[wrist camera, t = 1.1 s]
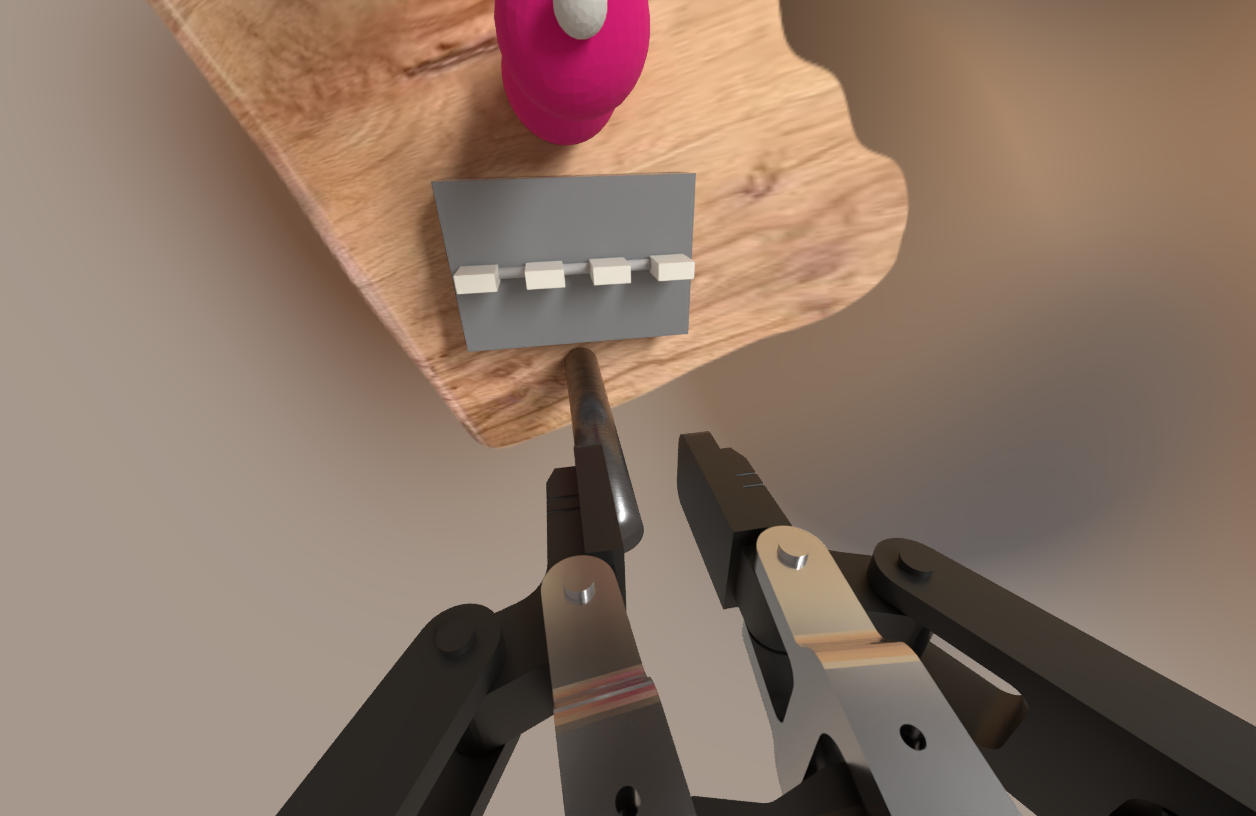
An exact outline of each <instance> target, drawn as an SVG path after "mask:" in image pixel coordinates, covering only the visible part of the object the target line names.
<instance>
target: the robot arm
mask: <svg viewBox="0 0 1256 816" xmlns="http://www.w3.org/2000/svg"><path fill="white" fill-rule="evenodd" d="M678 445H679V446H678V469H677V489H678V495H679V500H680V503H681V505H682V508H683V511H684V513H685V516H686V518H687V521H688V523H689V525H690V528H691V531H692V533H693V536H694V538H695V540H696V543H697V545H698V548H699V550H700V553H701V555H702V558H703V560H704V563H705V565H706V568H707V570H708V572H709V575H710V578H711V580H712V583H713V585H714V587H715V590H716V592H717V595H718V597H719V600H720V602H721V605H722V607H723V609H727V608H733V607H739V609H740V611H741V614H742V616H743V618H744V621H743V627H742V636H743V640H744V643H745V647H746V650H747V653H748V656H749V659H750V662H751V666H752V669H753V672H754V675H755V678H756V681H757V684H758V688H759V691H760V694H761V697H762V701H763V704H764V707H765V710H766V713H767V716H768V719H769V723H770V726H771V730H772V734H773V739H774V753H775V763H776V769H777V774H778V779H779V783H780V787H781V790H782V794H783V796H781V797H780V798H778V799H777V800H775V801H773V802H770V803H756V802H746V801H736V800H727V799H717V798H708V797H699V796H692V797H691V796H690V792H689V789H688V786H687V783H686V780H685V777H684V773H683V770H682V767H681V764H680V761H679V758H678V755H677V752H676V748H675V745H674V742H673V739H672V736H671V732H670V729H669V726H668V723H667V720H666V716H665V713H664V710H663V707H662V704H661V701H660V698H659V695H658V692H657V689H656V687H655V684H654V682H653V680H652V679H651V678H650V677H647V676H646V674H645V671H644V668H643V665H642V662H641V659H640V656H639V652H638V649H637V646H636V642H635V639H634V636H633V632H632V629H631V626H630V622H629V619H628V616H627V613H626V590H625V562H624V546H623V541H622V536H621V532H620V527H619V522H618V518H617V513H616V508H615V503H614V499H613V494H612V489H611V485H610V480H609V475H608V470H607V466H606V461H605V456H604V452H603V447H602V443H600V444H591V445H582V446H574V456H575V465H576V466H572V467H564V468H556V469H554V471H553V472H552V474H551V476H550V478H549V479H548V481H547V483H546V486H547V487H546V490H547V491H546V492H547V558H548V564H547V571H546V574H545V577H544V579H543V581H542V582H541V584H540V585H539V586H538V587H537V589H536V590H535V591H534V592H533V593H531V594H530V595H529V596H528V597H526V598H525V599H523V600H522V601H520V602H518V603H516V604H514V605H511V606H509V607H507V608H505V609H503V610H501V611H498V612H496V613H494V612H493V611H492V610H490V609H489V608H487V607H485V606H483V605H478V604H462V605H458V606H454V607H452V608H449V609H447V610H445V611H443V612H441V613H440V614H439V615H437V616H436V617H434V618H433V619H432V620H431V621H430V622H429V623H428V624H427V625H426V626H425V627H424V628H423V629H422V630H421V632H420V633H419V634H418V636H417V637H416V638H415V639H414V641H413V642H412V643H411V645H410V646H409V647H408V648H407V649H406V651H405V652H404V653H403V655H402V656H401V657H400V658H399V660H398V661H397V662H396V663H395V665H394V666H393V667H392V669H391V670H390V671H389V672H388V674H387V675H386V676H385V677H384V679H383V680H382V681H381V682H380V684H379V685H378V686H377V688H376V689H375V690H374V691H373V693H372V694H371V695H370V697H369V698H368V699H367V700H366V702H365V703H364V704H363V705H362V707H361V708H360V709H359V710H358V712H357V713H356V714H355V716H354V717H353V718H352V719H351V721H350V722H349V723H348V724H347V726H346V727H345V728H344V729H343V731H342V732H341V733H340V735H339V736H338V737H337V738H336V740H335V741H334V742H333V743H332V745H331V746H330V747H329V749H328V750H327V751H326V752H325V754H324V755H323V756H322V757H321V759H320V760H319V761H318V762H317V764H316V765H315V766H314V768H313V769H312V770H311V771H310V773H309V774H308V775H307V776H306V778H305V779H304V780H303V782H302V783H301V784H300V785H299V787H298V788H297V789H296V791H295V792H294V793H293V794H292V796H291V797H290V798H289V799H288V801H287V802H286V803H285V804H284V806H283V807H282V808H281V810H280V811H279V812H278V813H277V815H276V816H483V814H484V812H485V809H486V807H487V805H488V803H489V801H490V799H491V797H492V795H493V793H494V791H495V788H496V786H497V784H498V782H499V780H500V778H501V776H502V774H503V772H504V770H505V767H506V765H507V763H508V761H509V759H510V757H511V755H512V753H513V750H514V748H515V746H516V744H517V742H518V740H519V738H520V735H521V734H522V733H523V732H525V731H527V730H528V729H530V728H532V727H533V726H535V725H537V724H538V723H540V722H542V721H544V720H545V719H547V718H549V717H550V716H552V715H554V722H555V732H556V741H557V749H558V758H559V767H560V776H561V784H562V793H563V802H564V810H565V816H1022V815H1021V814H1020V812H1019V810H1018V809H1017V807H1016V806H1015V805H1014V803H1013V801H1012V800H1011V798H1010V797H1009V795H1008V794H1007V792H1009V793H1010V794H1011V795H1012V796H1013V797H1015V798H1016V799H1017V800H1018V801H1020V802H1021V803H1022V804H1023V805H1025V806H1026V807H1027V808H1028V809H1029V810H1031V811H1032V812H1033V813H1034V814H1036V815H1037V816H1256V727H1255V726H1254V725H1252V724H1250V723H1248V722H1246V721H1245V720H1243V719H1241V718H1239V717H1237V716H1235V715H1233V714H1232V713H1230V712H1228V711H1226V710H1224V709H1223V708H1221V707H1219V706H1217V705H1215V704H1214V703H1212V702H1210V701H1208V700H1206V699H1204V698H1203V697H1201V696H1199V695H1197V694H1195V693H1194V692H1192V691H1190V690H1188V689H1186V688H1185V687H1183V686H1181V685H1179V684H1177V683H1175V682H1174V681H1172V680H1170V679H1168V678H1166V677H1164V676H1163V675H1160V674H1159V673H1157V672H1155V671H1154V670H1152V669H1150V668H1148V667H1146V666H1144V665H1143V664H1141V663H1139V662H1137V661H1135V660H1134V659H1132V658H1130V657H1128V656H1126V655H1124V654H1123V653H1121V652H1119V651H1117V650H1115V649H1114V648H1112V647H1110V646H1108V645H1106V644H1104V643H1103V642H1101V641H1099V640H1097V639H1095V638H1094V637H1092V636H1090V635H1088V634H1086V633H1084V632H1082V631H1081V630H1079V629H1077V628H1075V627H1073V626H1072V625H1070V624H1068V623H1066V622H1064V621H1063V620H1061V619H1059V618H1057V617H1055V616H1053V615H1052V614H1050V613H1048V612H1046V611H1044V610H1042V609H1041V608H1039V607H1037V606H1035V605H1034V604H1032V603H1030V602H1028V601H1026V600H1024V599H1023V598H1021V597H1019V596H1017V595H1015V594H1013V593H1012V592H1010V591H1008V590H1006V589H1004V588H1003V587H1001V586H999V585H997V584H995V583H994V582H992V581H990V580H988V579H986V578H984V577H983V576H981V575H979V574H977V573H975V572H973V571H972V570H970V569H968V568H966V567H964V566H962V565H961V564H959V563H957V562H955V561H954V560H952V559H950V558H948V557H946V556H944V555H943V554H941V553H939V552H937V551H935V550H934V549H932V548H930V547H928V546H926V545H924V544H921V543H919V542H916V541H912V540H908V539H903V538H891V539H886V540H883V541H881V542H880V543H878V544H877V546H876V547H875V549H874V552H873V555H872V556H870V555H861V554H852V553H844V552H837V551H831V550H828V549H827V548H826V546H825V545H824V544H823V543H822V542H821V541H820V540H819V539H818V538H817V537H815V536H814V535H812V534H811V533H809V532H807V531H804V530H802V529H800V528H796V527H793V526H792V525H791V524H790V522H789V520H788V519H787V517H786V516H785V515H784V513H783V512H782V510H781V509H780V507H779V506H778V505H777V503H776V501H775V500H774V498H773V497H772V496H771V494H770V493H769V491H768V490H767V488H766V487H765V486H763V482H762V481H761V479H760V478H759V477H758V475H757V474H755V471H754V469H753V468H752V466H751V465H750V463H749V462H748V460H747V459H746V458H745V457H743V456H742V455H741V454H739V453H738V452H736V451H735V450H733V449H732V448H723V449H720V448H719V446H718V444H717V443H716V441H715V440H714V438H713V436H712V435H711V433H710V432H708V431H706V432H698V433H688V434H681V435H680V437H679V444H678ZM933 633H934V634H936V635H938V636H939V637H940V638H942V639H943V640H945V641H946V642H948V643H949V644H951V645H952V646H954V647H955V648H957V649H958V650H960V651H961V652H963V653H964V654H966V655H967V656H969V657H970V658H972V659H973V660H974V661H976V662H977V663H979V664H980V665H982V666H983V667H985V668H986V669H988V670H989V671H991V672H993V673H994V674H995V675H997V676H998V677H1000V678H1001V679H1003V680H1004V681H1006V682H1007V683H1009V684H1010V685H1012V686H1013V687H1014V688H1015V689H1016V690H1018V691H1019V693H1020V694H1021V695H1013V694H1009V693H1006V692H1004V691H1002V690H1000V689H998V688H997V687H995V686H994V685H993V684H991V683H990V682H988V681H986V680H985V679H984V678H982V677H981V676H980V675H978V674H977V673H975V672H974V671H972V670H971V669H969V668H968V667H966V666H965V665H964V664H962V663H961V662H959V661H958V660H956V659H955V658H953V657H952V656H950V655H949V654H947V653H946V652H945V651H943V650H942V649H940V648H939V647H937V646H936V645H934V644H933V643H931V642H930V639H931V637H932V635H933ZM1006 791H1007V792H1006Z"/></svg>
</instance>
